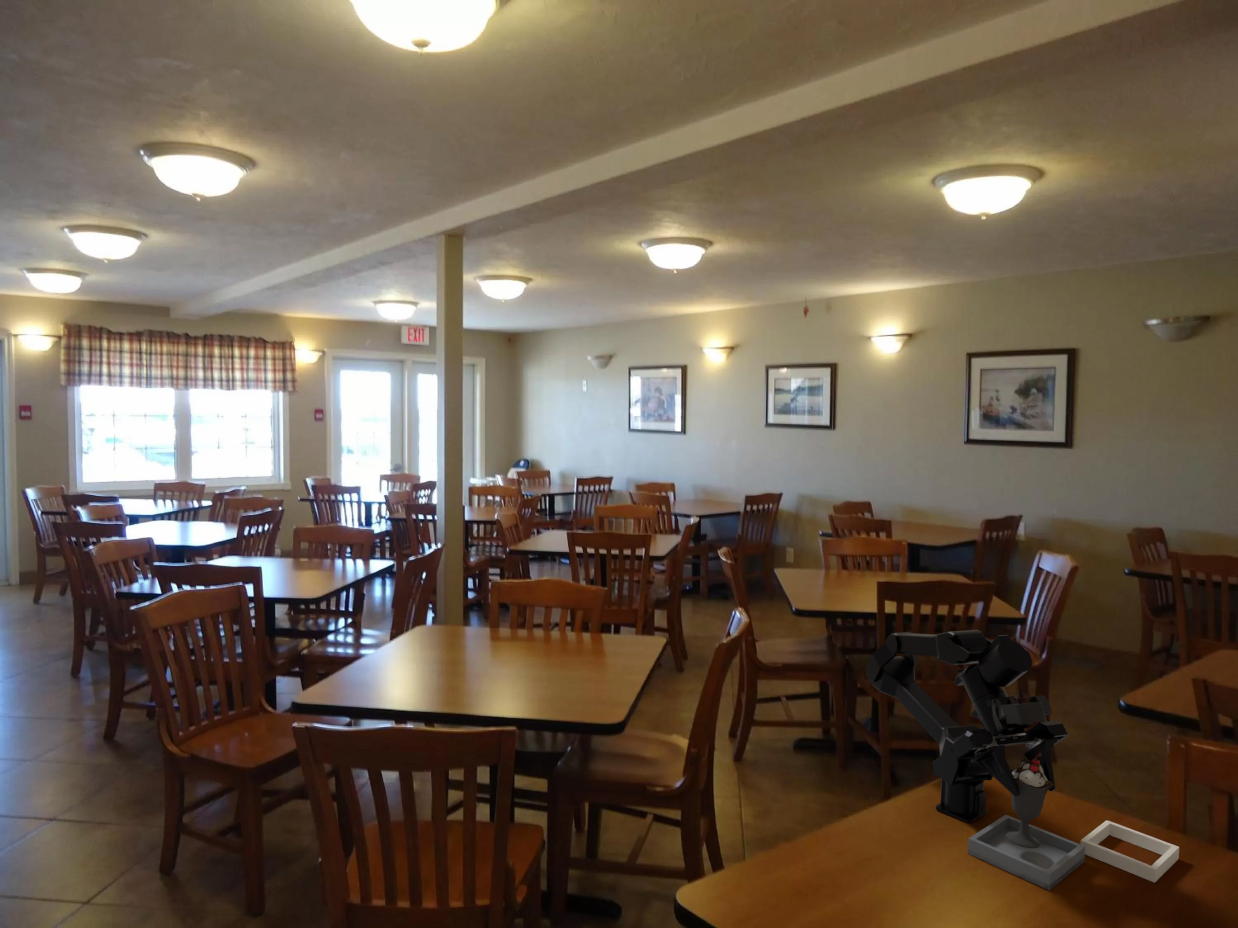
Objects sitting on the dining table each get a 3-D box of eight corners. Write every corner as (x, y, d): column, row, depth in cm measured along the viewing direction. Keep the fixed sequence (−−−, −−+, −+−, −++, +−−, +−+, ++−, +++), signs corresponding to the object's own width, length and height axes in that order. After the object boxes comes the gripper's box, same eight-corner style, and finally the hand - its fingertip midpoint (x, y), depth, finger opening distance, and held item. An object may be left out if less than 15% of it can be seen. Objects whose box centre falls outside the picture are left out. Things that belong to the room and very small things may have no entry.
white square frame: (1079, 851, 131) (1080, 840, 131) (1105, 831, 138) (1106, 819, 138) (1154, 882, 123) (1155, 869, 123) (1178, 858, 130) (1179, 846, 129)
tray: (967, 853, 130) (968, 838, 130) (1005, 828, 138) (1005, 814, 138) (1049, 890, 120) (1050, 874, 120) (1084, 861, 128) (1085, 846, 128)
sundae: (1034, 855, 124) (1044, 759, 124) (992, 835, 129) (1001, 743, 129) (1054, 844, 128) (1064, 751, 128) (1012, 826, 133) (1022, 737, 133)
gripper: (968, 682, 128) (1015, 781, 119) (1063, 673, 133) (1116, 767, 124) (933, 711, 137) (975, 806, 127) (1024, 701, 142) (1071, 792, 132)
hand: (1035, 792), depth 127 cm, fingers closed on sundae, 6 cm apart
